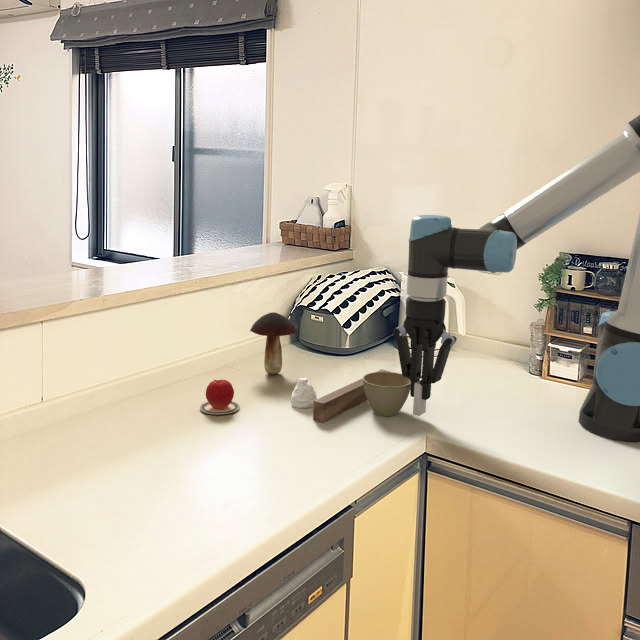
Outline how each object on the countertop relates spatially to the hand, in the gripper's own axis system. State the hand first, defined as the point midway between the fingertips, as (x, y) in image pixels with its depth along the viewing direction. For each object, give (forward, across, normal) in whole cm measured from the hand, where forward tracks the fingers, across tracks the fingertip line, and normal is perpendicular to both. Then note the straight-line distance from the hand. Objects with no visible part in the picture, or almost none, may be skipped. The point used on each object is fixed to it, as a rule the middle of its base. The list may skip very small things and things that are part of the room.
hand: (419, 413), depth 140 cm
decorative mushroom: (+2, +41, -4) cm, 41 cm away
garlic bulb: (+2, +23, +7) cm, 24 cm away
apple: (+2, +35, +20) cm, 41 cm away
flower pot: (+2, +8, 0) cm, 8 cm away
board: (+2, +15, 0) cm, 15 cm away
